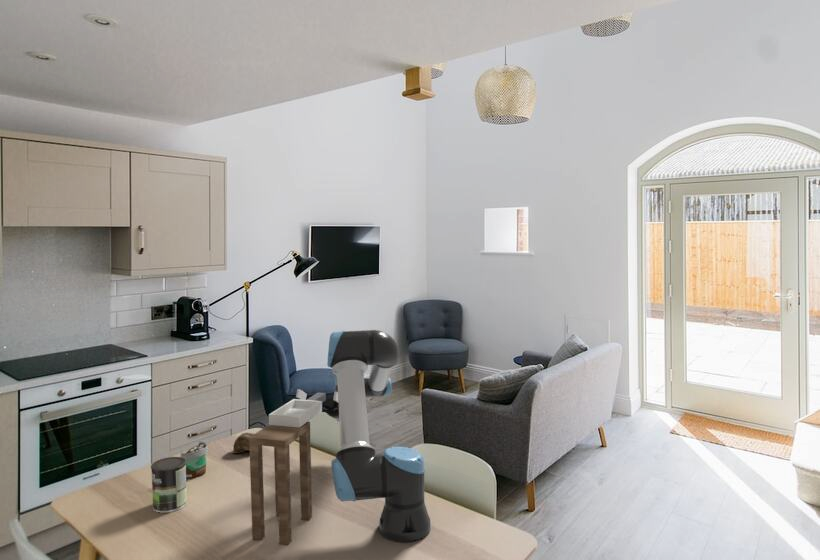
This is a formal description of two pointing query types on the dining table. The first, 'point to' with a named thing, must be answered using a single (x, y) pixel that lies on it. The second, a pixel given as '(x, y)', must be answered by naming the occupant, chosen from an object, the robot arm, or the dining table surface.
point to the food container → (195, 460)
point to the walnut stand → (280, 477)
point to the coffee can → (169, 484)
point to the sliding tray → (297, 411)
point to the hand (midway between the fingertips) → (316, 394)
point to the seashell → (242, 443)
